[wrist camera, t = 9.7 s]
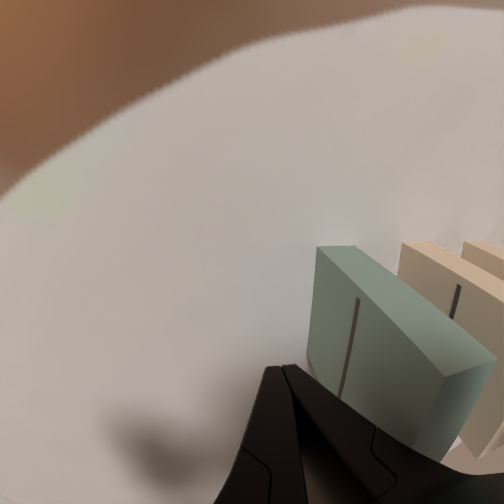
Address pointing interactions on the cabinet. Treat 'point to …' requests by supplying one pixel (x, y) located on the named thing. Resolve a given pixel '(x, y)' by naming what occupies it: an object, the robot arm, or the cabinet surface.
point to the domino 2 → (465, 326)
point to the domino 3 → (485, 257)
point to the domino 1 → (392, 352)
